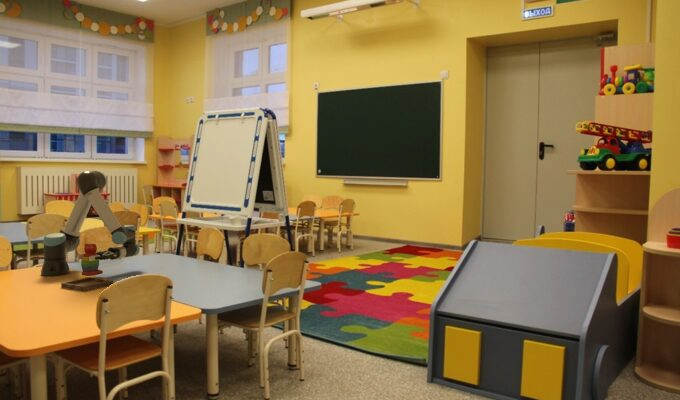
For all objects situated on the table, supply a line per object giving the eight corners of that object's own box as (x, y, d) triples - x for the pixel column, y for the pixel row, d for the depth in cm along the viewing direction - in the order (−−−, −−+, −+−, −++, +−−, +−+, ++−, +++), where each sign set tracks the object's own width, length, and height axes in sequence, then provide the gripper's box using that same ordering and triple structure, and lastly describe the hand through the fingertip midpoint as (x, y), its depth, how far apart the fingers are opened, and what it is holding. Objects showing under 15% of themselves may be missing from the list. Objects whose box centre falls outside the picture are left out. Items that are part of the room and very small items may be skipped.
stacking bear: (104, 272, 321) (104, 242, 320) (94, 276, 311) (94, 245, 310) (86, 272, 322) (86, 241, 321) (76, 275, 312) (76, 244, 311)
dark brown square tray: (61, 287, 292) (61, 283, 292) (90, 281, 308) (90, 276, 308) (84, 291, 284) (84, 286, 284) (113, 284, 300) (113, 280, 300)
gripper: (129, 260, 327) (97, 266, 307) (103, 257, 337) (71, 262, 317) (129, 248, 327) (97, 253, 307) (103, 244, 336) (70, 249, 316)
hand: (83, 258), depth 312 cm, fingers closed on stacking bear, 9 cm apart
